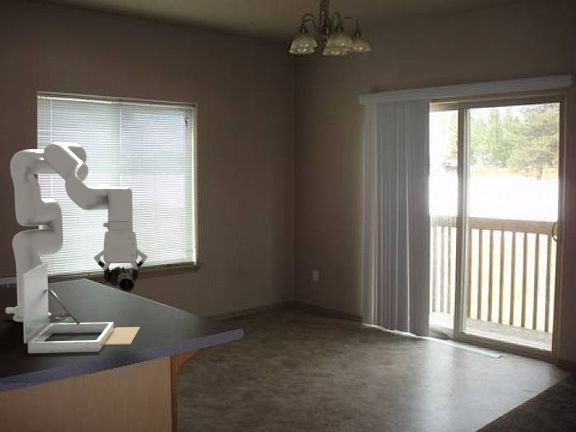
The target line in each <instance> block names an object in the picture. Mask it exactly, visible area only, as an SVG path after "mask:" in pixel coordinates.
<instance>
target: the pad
mask: <svg viewBox="0 0 576 432" xmlns="http://www.w3.org/2000/svg"><path fill="white" fill-rule="evenodd" d="M140 328H141V326H128V327H127V326H125V327H124V326H121V327H115V328H114V330H113V332H112V333H111V334H110V336H109V337H108V339H107V340H106V341H105V343H104V345H103V346H128V345H132V343H133V342H134V339H135V337H136V336H137V334H138V333H139V331H140Z"/></svg>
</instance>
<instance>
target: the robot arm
mask: <svg viewBox="0 0 576 432" xmlns="http://www.w3.org/2000/svg"><path fill="white" fill-rule="evenodd" d="M87 156H88V155H87V153H86V150H85V149H84V147H83V146H82V145H80V144H77V143H72V142H71V143H65V142H53V143H49V144H48V145H47V146H45V147H44V149H23V150H20V151H17V152H16V153H15V154H14V155H13V156H12V158H11V160H10V163H9V164H10V166H9V168H10V175H11V179H12V183H13V186H14V187H13V188H14V207H15V208H14V209H15V218H16V221H17V223H18V224H19V225H21V226H22V227H36V226H42V228H41V229H40V228H37V229H36V228H35V229H27V230H22V231H20V232H17V233H16V234H15V235H14V236H13V239H12V241H11V242H12V244H11V245H12V250H13V254H14V259H15V260H14V261H15V266H16V267H15V270H16V294H17V295H16V296H17V306H15V307H12V306H11V307H9V306H8V307H6V308H5V313H6V314H9V315H11V314H14V315H13V317H12V319H13V321H14V322H18V323H24V322H23V287H22V274H24V273H26V272H28V271H30V270H32V269H34V268H36V267H38V266H40V265H42V264H44V262H43V261H42V259H41V258H40V257H41V256H48V255H55V254H58V253H59V252H61V250H62V248H63V245H64V229H63V228H64V227H63V225H64V224H63V212H62V207H61V205H60V204H59V203H58V201H56V200H55V199H53V198H42V195H41V194H42V193H41V191H42V190H41V189H42V188H41V186H40V185H41V184H40V183H39V181H38V180H37V178H36V177H35V175H58V176H60V177H61V179H63V180H64V181H65V183H64V187H65V192H66V195H67V196H68V199H70V200H71V201H72V202H73V203H75V205H76V206H77V207H78V208H81V209H82V210H85V211H99V210H100V211H102V210H104V211H106V210H107V221H106V222H103V223H102V224H103V225H102V226H103V228H107V230H106V231H105V233H104V237H103V239H104V240H103V250H102V251H100V252H99V253H98V254H96V255H95V256H94V257H93V259H94V260H95V262H96V263H97V264H98V265H99V267H100V268H102V270H103V279H104V280H105V283H107V284H108V283H110V277H109V276H110V272H111V269H110V265H111V264H130V265H131V266H132V279H133V281H134V283H136V282H137V280H139V269H140V268H141V267H142V265H143V264H144V263H145V262H146V261H147V259H148V257H149V256H148V255H147V254H145V253H144V252H142V251H141V250H140V249H138V241H137V240H138V239H137V236H136V235H137V233H136V231H135V230H134V223H133V222H134V221H133V220H134V219H133V211H134V210H133V190H132V189H131V188H130V187H126V186H125V187H124V186H123V187H122V186H121V187H120V186H119V187H118V186H117V187H116V186H114V185H113V186H112V185H111V186H110V185H98V186H95V185H93V186H91V185H90V186H88V185H87V184H85V183H84V181H85V180H86V179H87V177H88V175H89V167H88V165H87V164H86V162H87ZM138 257H140V258H141V260H139V262H137V260H138ZM101 258H103V259H101ZM103 261H104V262H103ZM48 313H49V315H52V313H51V312H49V311H48Z"/></svg>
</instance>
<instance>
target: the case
mask: <svg viewBox="0 0 576 432" xmlns="http://www.w3.org/2000/svg"><path fill="white" fill-rule="evenodd" d="M48 279H49V278H48V262H43V264H42V265H40V266H38V267H36V268H34V269H32V270H30V271H28V272H26V273H24V274H22V287H23V322H22V323H23V344H27V353H28V354H50V353H52V354H53V353H54V354H55V353H89V352H93V353H95V352H101V349H102V348H103V347H104V346H105V345H104V343H105V341H106V340H107V339H108V337H109V336H110V334H111V333H112V332H113V330H114V329H115V328H114V327H115V326H114V324H115V323H114V322H113V321H112V322H111V321H110V322H109V321H108V322H82V323H80V322H79V321H78V320H77V319H78V318H77V317H76V316H75V315H74V314H73V313H72V311H71V310H70V309H69V308H68V307H67V306H66V304H64V302H63V301H62V300H61V299H60V297H58V296H57V295H56V293H55V292H54V291H53V290H52V289H51V288H49V285H48V284H49V281H48ZM49 294H50V296H52V298H54V300H55V301H56V302H57V303H58V304H59V305H60V306H61V307H62V309H63V310H64V311H65V313H67V314H69V315H70V317H71V318H72V319H73V320H74V321H75V322H76V323H56V324H51V322H49V313H50V312H49ZM48 312H49V313H48ZM73 333H74V334H82V333H83V334H84V333H86V334H87V333H89V334H91V333H92V334H93V333H101V334H100V335H99V336H98V337H97V339H96V340H62V341H61V340H60V341H54V340H53V341H47V340H48V339H49V338H50V337H51V336H52V335H54V334H73ZM49 336H50V337H49ZM47 338H48V339H47ZM46 339H47V340H46ZM45 340H46V341H45Z"/></svg>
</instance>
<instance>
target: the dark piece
mask: <svg viewBox="0 0 576 432" xmlns="http://www.w3.org/2000/svg"><path fill="white" fill-rule="evenodd" d="M109 277H110V281H109V284H110V285H112V286H114V287H118V288H119V289H120V290H121V291H122V292H126V293H127V292H132V291H133V290H134V288H135V287H136V284H135V283H136V282H134V281H133V277H132V275H131V272H130V269H128V268H125V267H124V266H122V267H120V266H115V267H114V268H112V269H110V276H109Z"/></svg>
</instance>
